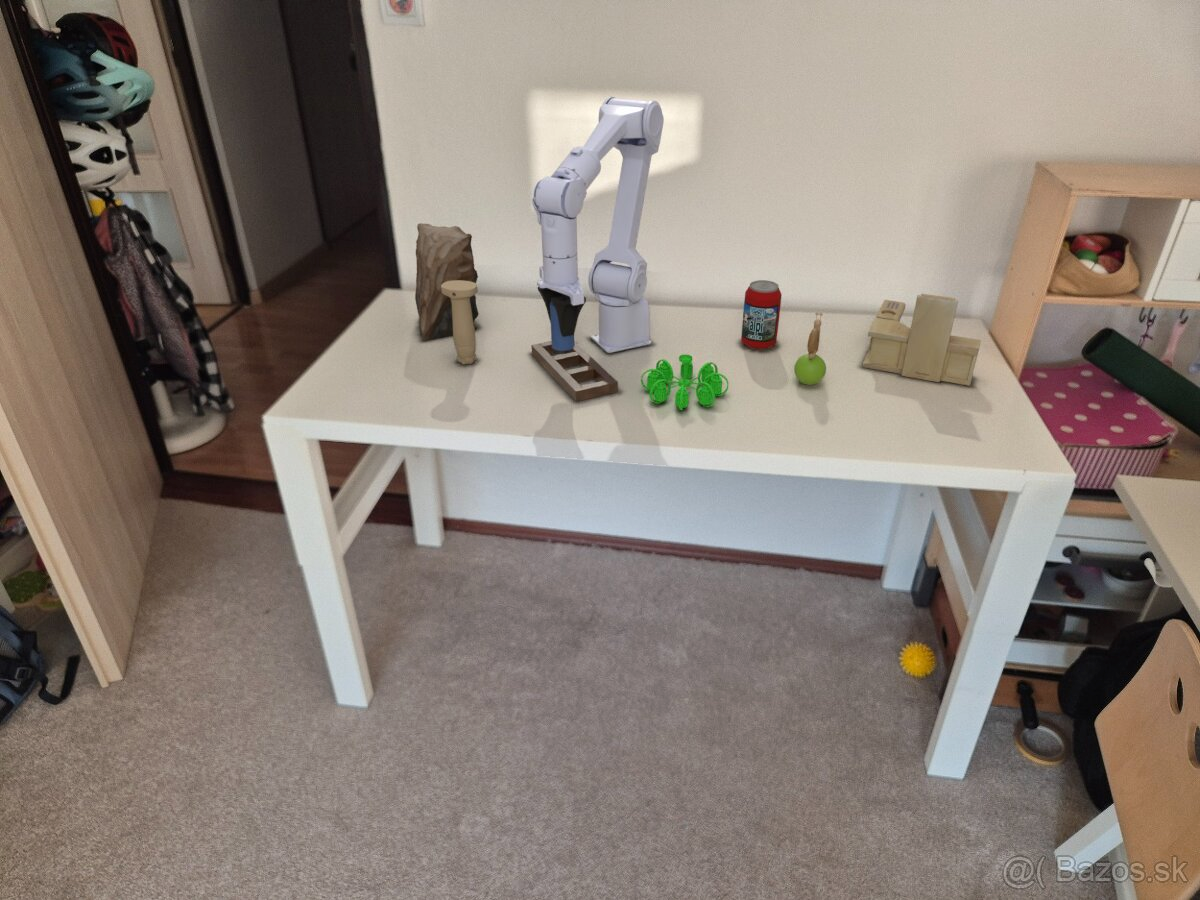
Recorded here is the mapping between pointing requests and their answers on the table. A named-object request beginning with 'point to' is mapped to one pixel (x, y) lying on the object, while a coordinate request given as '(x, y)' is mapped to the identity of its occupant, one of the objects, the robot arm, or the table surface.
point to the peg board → (575, 371)
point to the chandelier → (684, 382)
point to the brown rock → (441, 276)
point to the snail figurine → (811, 359)
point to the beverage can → (761, 314)
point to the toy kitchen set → (921, 342)
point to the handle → (462, 318)
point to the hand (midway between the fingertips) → (562, 330)
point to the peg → (559, 333)
